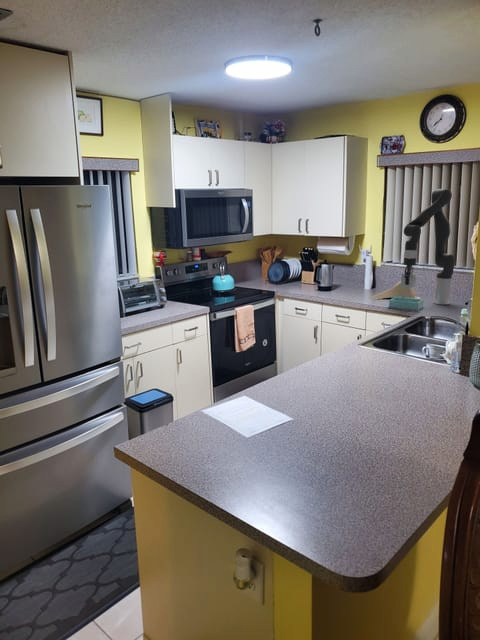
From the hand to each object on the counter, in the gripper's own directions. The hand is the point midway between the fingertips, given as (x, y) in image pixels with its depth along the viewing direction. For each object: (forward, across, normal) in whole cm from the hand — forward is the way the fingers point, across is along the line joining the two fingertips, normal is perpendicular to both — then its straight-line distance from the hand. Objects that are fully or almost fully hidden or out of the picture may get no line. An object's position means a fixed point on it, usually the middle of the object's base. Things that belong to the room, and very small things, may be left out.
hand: (407, 283), depth 312 cm
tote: (+15, 0, 0) cm, 15 cm away
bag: (+16, -30, -15) cm, 37 cm away
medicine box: (+2, 0, 0) cm, 2 cm away
